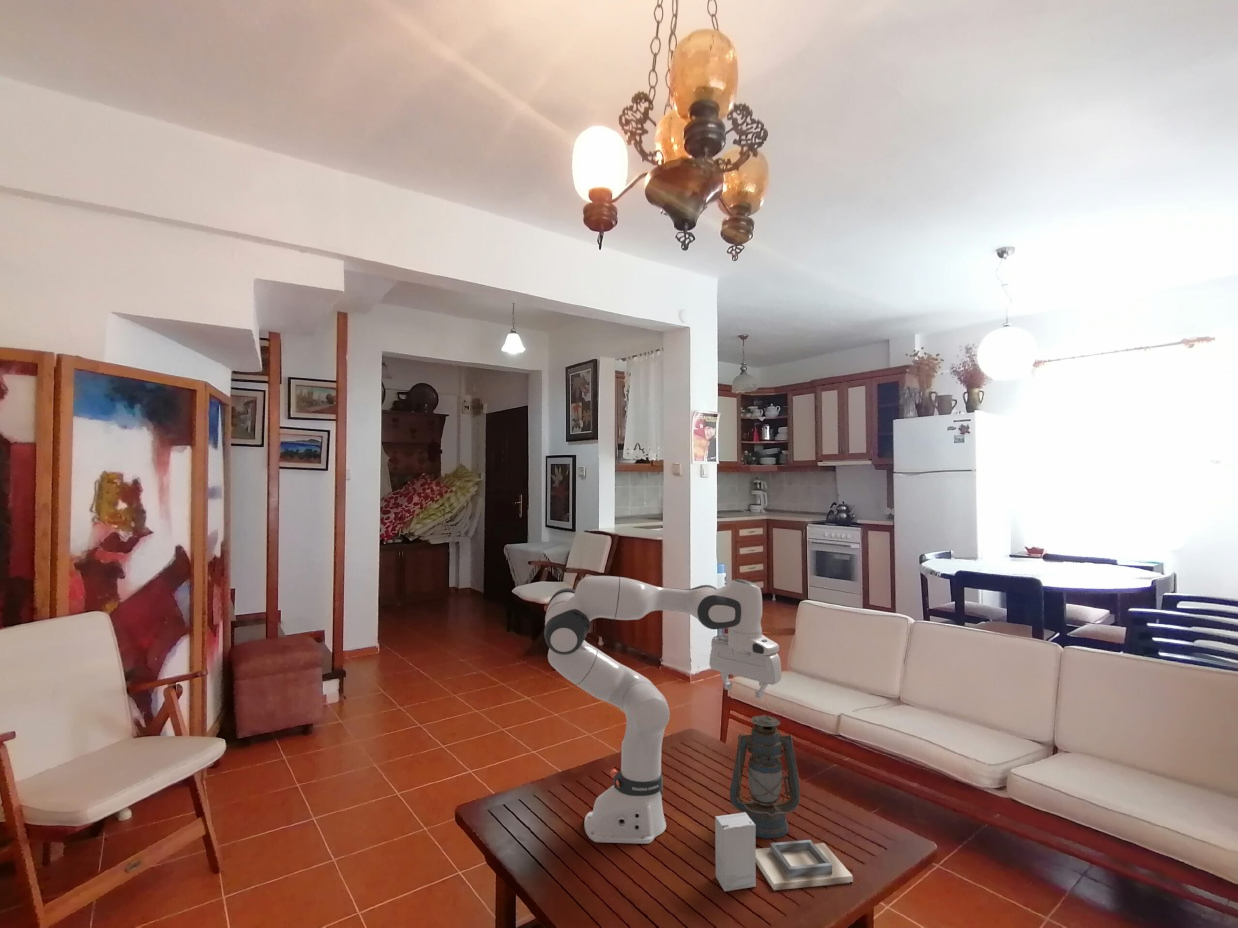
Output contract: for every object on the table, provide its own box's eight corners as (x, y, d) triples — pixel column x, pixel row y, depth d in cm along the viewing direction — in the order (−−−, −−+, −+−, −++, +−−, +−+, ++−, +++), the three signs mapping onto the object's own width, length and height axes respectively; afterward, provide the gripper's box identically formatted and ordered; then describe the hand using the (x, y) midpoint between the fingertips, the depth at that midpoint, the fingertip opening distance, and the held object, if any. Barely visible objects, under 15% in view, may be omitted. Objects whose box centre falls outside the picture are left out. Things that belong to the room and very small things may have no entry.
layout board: (773, 890, 146) (773, 874, 146) (750, 855, 160) (751, 841, 160) (852, 882, 149) (852, 867, 150) (823, 848, 163) (823, 834, 163)
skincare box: (746, 872, 152) (746, 810, 153) (756, 888, 146) (757, 823, 147) (713, 876, 150) (714, 813, 151) (723, 893, 145) (723, 827, 145)
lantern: (792, 813, 180) (793, 708, 181) (808, 842, 166) (809, 727, 167) (725, 813, 180) (726, 707, 181) (735, 841, 166) (736, 726, 167)
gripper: (705, 635, 172) (704, 686, 172) (773, 650, 159) (771, 705, 158) (718, 632, 177) (716, 682, 176) (784, 646, 163) (783, 700, 163)
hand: (743, 693), depth 167 cm, fingers open, 8 cm apart
